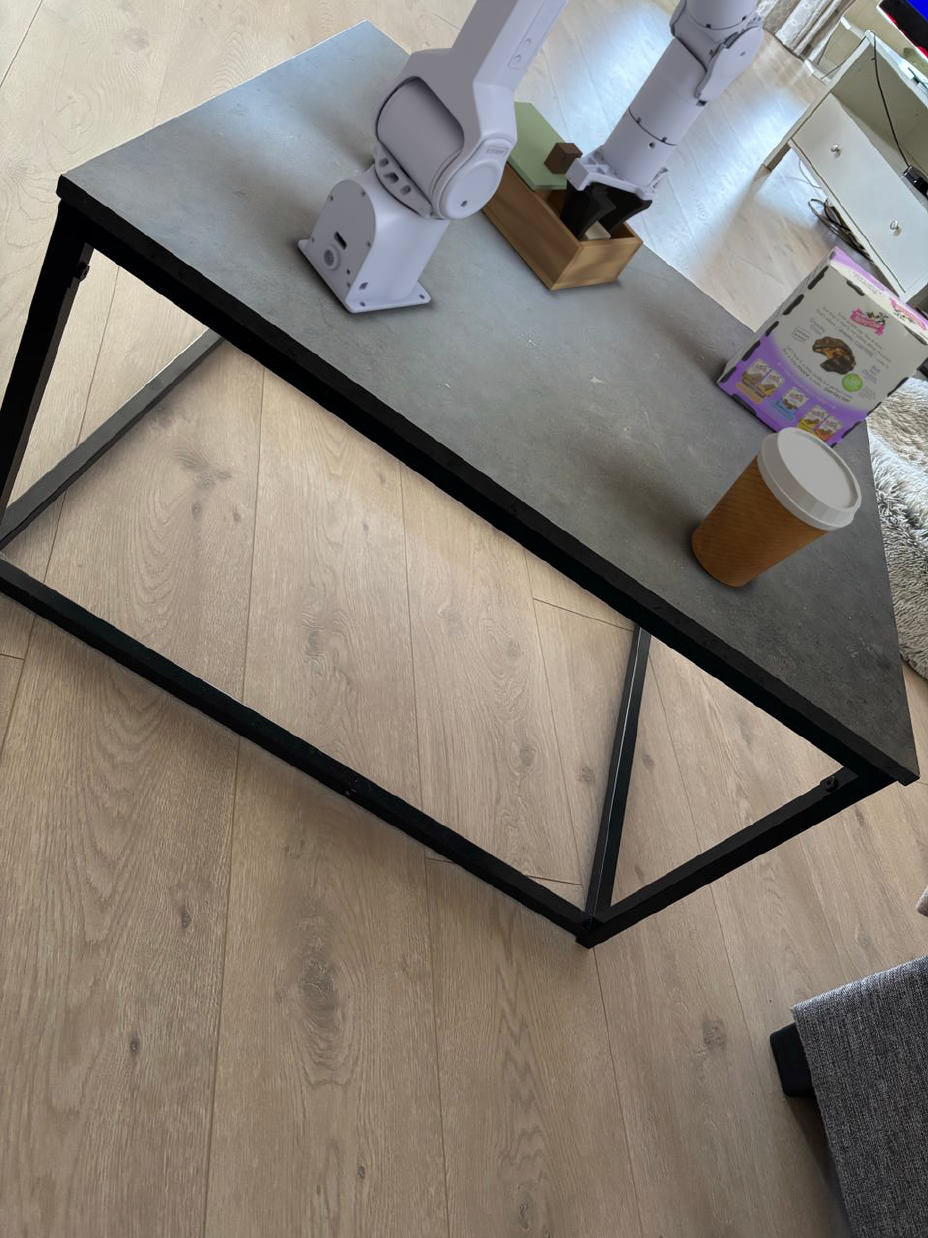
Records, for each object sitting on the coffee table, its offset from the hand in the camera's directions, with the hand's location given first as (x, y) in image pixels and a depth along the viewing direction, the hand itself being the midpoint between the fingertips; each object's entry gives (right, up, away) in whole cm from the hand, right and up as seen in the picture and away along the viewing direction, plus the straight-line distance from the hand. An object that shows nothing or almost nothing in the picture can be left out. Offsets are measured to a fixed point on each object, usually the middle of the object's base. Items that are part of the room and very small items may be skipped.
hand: (572, 242), depth 99 cm
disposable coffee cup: (+11, -33, -14) cm, 38 cm away
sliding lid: (-4, +10, 0) cm, 11 cm away
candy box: (+22, -16, +6) cm, 28 cm away
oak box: (-3, +1, +2) cm, 3 cm away
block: (-1, -1, +1) cm, 1 cm away
